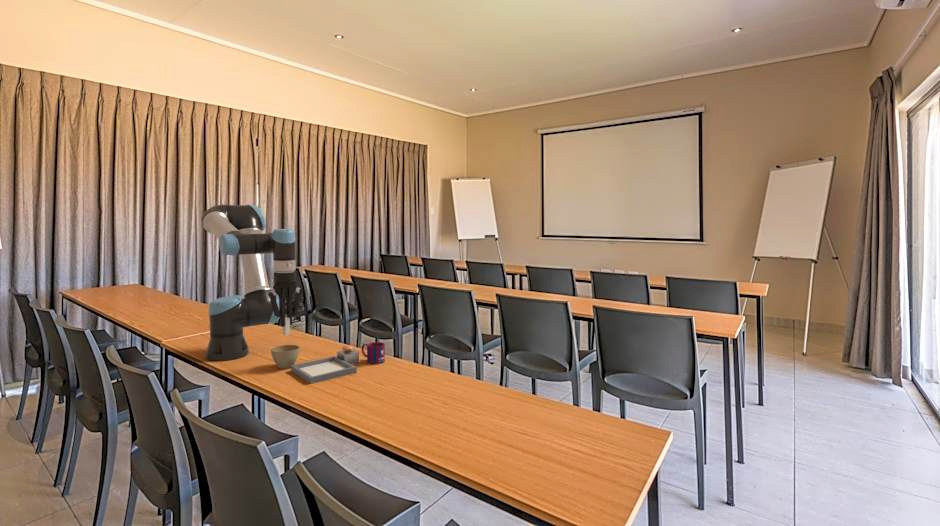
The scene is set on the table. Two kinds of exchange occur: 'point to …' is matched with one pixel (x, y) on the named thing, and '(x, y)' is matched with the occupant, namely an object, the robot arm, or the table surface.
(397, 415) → the table surface
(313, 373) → the tray
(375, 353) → the cup
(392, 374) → the table surface
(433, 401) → the table surface
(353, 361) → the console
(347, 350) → the button
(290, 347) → the flower pot
